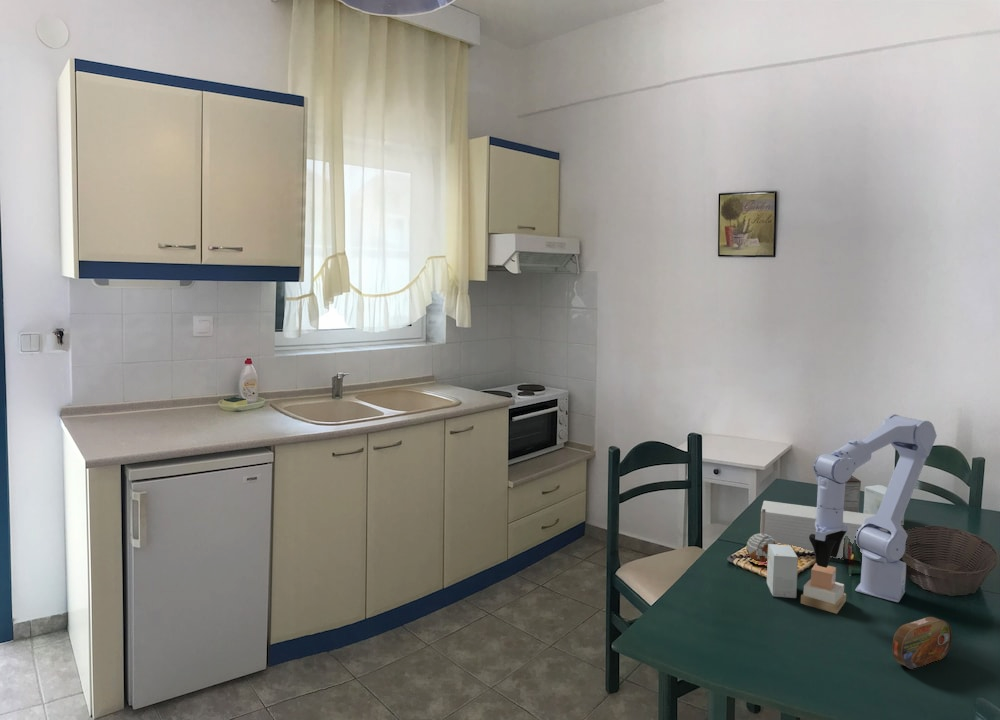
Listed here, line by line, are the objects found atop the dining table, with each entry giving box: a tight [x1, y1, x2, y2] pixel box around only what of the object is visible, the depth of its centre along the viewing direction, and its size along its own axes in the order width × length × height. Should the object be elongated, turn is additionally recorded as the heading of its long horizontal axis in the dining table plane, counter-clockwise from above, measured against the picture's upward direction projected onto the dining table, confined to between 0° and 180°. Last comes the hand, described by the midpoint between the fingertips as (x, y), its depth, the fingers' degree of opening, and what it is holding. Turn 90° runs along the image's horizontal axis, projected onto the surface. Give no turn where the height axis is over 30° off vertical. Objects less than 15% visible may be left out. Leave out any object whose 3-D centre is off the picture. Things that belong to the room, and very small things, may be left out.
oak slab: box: [800, 592, 847, 615], centre depth 163 cm, size 8×8×2 cm
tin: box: [891, 616, 953, 670], centre depth 137 cm, size 15×3×8 cm, turn 114°
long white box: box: [759, 500, 889, 560], centre depth 195 cm, size 32×11×11 cm, turn 65°
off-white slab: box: [802, 578, 845, 604], centre depth 162 cm, size 7×7×2 cm
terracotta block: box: [810, 562, 837, 590], centre depth 162 cm, size 4×4×4 cm
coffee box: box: [844, 474, 862, 513], centre depth 212 cm, size 9×6×16 cm
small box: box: [766, 544, 799, 599], centre depth 168 cm, size 8×6×10 cm
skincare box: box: [863, 484, 905, 526], centre depth 217 cm, size 10×6×10 cm, turn 14°
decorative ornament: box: [746, 508, 776, 562], centre depth 185 cm, size 8×8×15 cm
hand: (827, 561), depth 161 cm, fingers open, 7 cm apart
